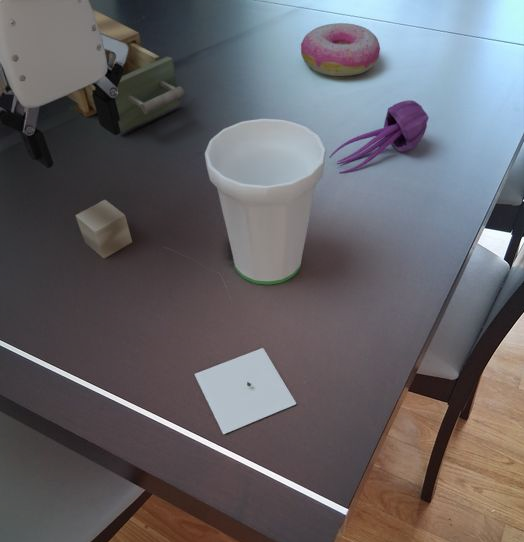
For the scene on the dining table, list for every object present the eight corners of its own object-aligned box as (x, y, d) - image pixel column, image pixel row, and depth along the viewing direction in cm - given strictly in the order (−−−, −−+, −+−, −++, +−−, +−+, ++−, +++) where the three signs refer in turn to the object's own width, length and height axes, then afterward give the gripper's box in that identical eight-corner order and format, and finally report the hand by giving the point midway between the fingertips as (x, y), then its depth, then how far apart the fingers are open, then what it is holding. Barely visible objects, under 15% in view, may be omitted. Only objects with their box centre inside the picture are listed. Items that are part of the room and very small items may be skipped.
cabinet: (149, 89, 97) (139, 32, 89) (87, 117, 91) (70, 60, 84) (101, 61, 103) (88, 6, 96) (40, 86, 98) (21, 30, 91)
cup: (314, 226, 74) (320, 115, 62) (322, 296, 66) (332, 185, 54) (218, 229, 74) (206, 119, 62) (215, 299, 66) (201, 190, 54)
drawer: (199, 116, 89) (193, 69, 84) (140, 145, 85) (130, 98, 79) (130, 76, 98) (121, 31, 92) (73, 101, 93) (60, 55, 87)
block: (104, 259, 71) (94, 231, 67) (84, 242, 73) (74, 215, 69) (132, 242, 73) (125, 214, 69) (113, 226, 75) (104, 199, 71)
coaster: (194, 374, 60) (193, 369, 59) (263, 347, 61) (262, 343, 61) (223, 434, 55) (222, 430, 54) (296, 403, 57) (296, 399, 56)
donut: (392, 73, 98) (396, 43, 94) (322, 89, 95) (324, 59, 91) (354, 41, 106) (357, 12, 102) (289, 55, 103) (290, 26, 99)
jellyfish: (323, 133, 78) (415, 82, 79) (321, 159, 85) (406, 111, 86) (349, 171, 77) (442, 118, 78) (344, 194, 83) (430, 145, 84)
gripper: (83, -76, 53) (123, 103, 67) (-99, -23, 46) (-12, 165, 60) (130, -57, 50) (162, 127, 64) (-59, 3, 43) (24, 196, 57)
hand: (78, 144), depth 62 cm, fingers open, 8 cm apart
